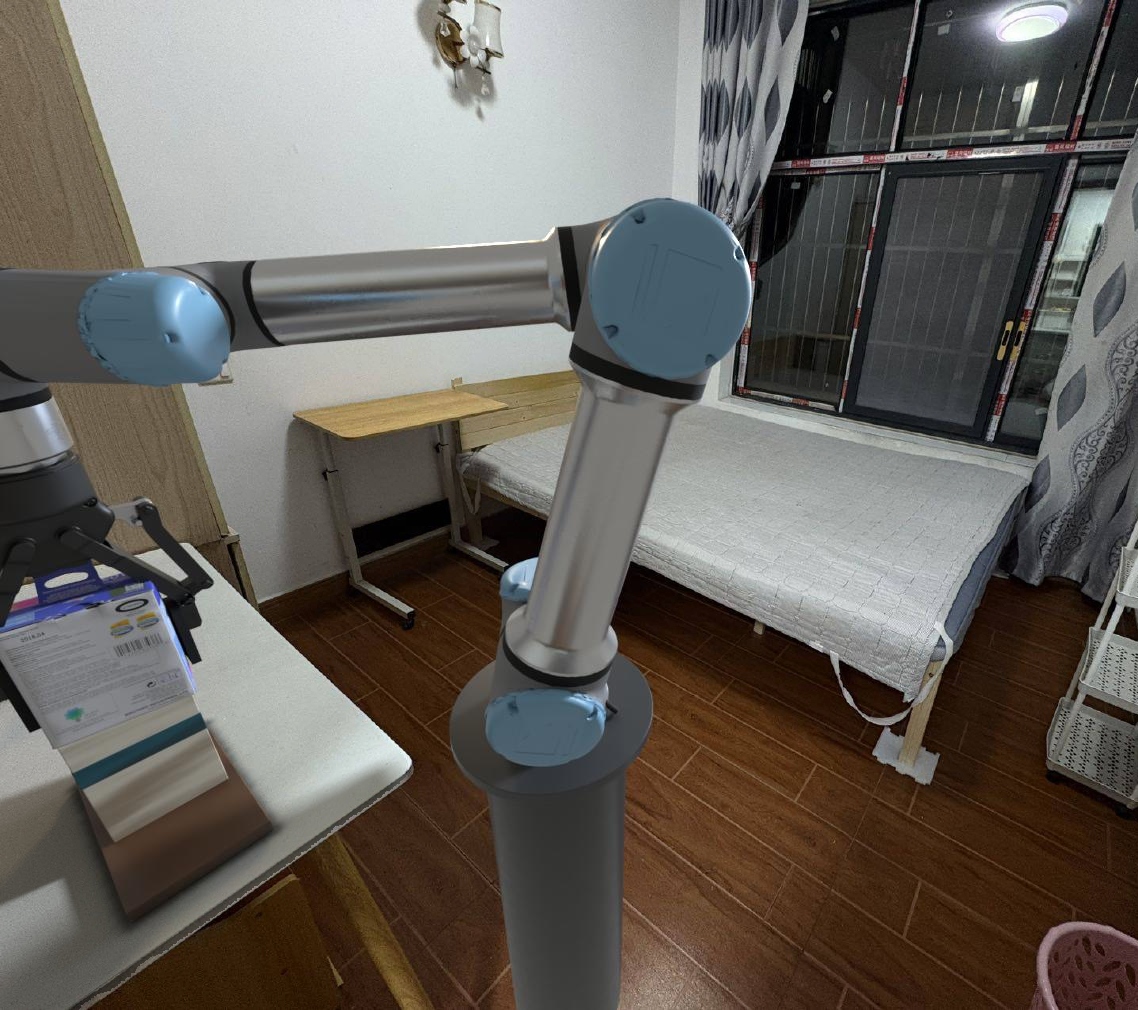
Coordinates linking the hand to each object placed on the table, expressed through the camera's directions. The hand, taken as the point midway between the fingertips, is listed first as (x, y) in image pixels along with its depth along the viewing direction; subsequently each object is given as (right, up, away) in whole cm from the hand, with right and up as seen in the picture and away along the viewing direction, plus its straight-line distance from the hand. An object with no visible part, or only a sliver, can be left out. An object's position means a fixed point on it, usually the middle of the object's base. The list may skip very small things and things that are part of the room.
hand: (119, 686), depth 50 cm
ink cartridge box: (0, -2, +1) cm, 2 cm away
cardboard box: (-7, -18, +13) cm, 23 cm away
